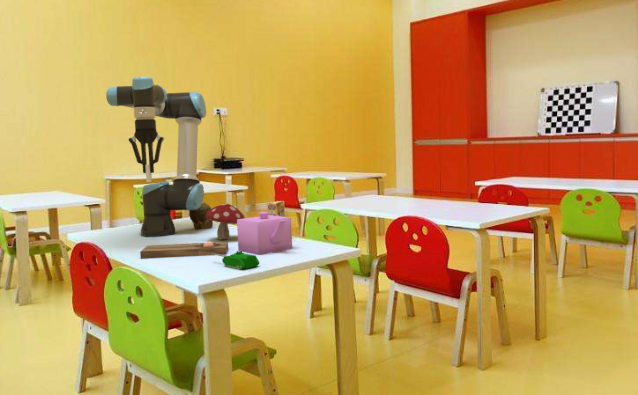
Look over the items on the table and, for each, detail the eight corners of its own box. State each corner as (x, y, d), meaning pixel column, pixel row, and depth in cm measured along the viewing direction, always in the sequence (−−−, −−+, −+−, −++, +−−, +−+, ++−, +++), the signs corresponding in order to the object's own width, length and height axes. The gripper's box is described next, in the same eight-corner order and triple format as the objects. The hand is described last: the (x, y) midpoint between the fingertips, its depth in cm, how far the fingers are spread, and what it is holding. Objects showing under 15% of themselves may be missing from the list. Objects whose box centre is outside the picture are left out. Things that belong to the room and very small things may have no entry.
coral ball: (201, 247, 213) (207, 238, 213) (210, 252, 214) (216, 244, 214) (200, 249, 209) (206, 240, 209) (209, 255, 210) (215, 246, 210)
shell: (191, 227, 278) (190, 202, 277) (214, 226, 279) (213, 201, 278) (188, 230, 268) (187, 204, 266) (212, 229, 269) (211, 203, 267)
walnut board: (147, 252, 216) (147, 245, 215) (228, 248, 218) (228, 241, 218) (140, 258, 204) (140, 251, 204) (226, 254, 206) (225, 247, 206)
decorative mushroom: (243, 235, 248) (241, 200, 246) (248, 241, 232) (246, 204, 231) (205, 238, 244) (203, 202, 242) (208, 244, 228) (206, 206, 227)
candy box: (278, 241, 230) (276, 203, 229) (268, 241, 231) (267, 203, 230) (286, 237, 238) (284, 200, 237) (276, 237, 240) (275, 200, 238)
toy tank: (224, 260, 197) (223, 245, 197) (259, 267, 184) (259, 251, 184) (207, 263, 193) (206, 248, 192) (242, 271, 179) (242, 255, 179)
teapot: (270, 257, 198) (268, 217, 197) (231, 249, 217) (229, 212, 216) (304, 251, 208) (303, 212, 207) (264, 243, 227) (262, 208, 225)
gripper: (124, 119, 211) (129, 183, 214) (161, 118, 213) (165, 181, 215) (129, 119, 219) (133, 181, 221) (164, 118, 220) (168, 180, 222)
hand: (149, 181), depth 218 cm, fingers closed
